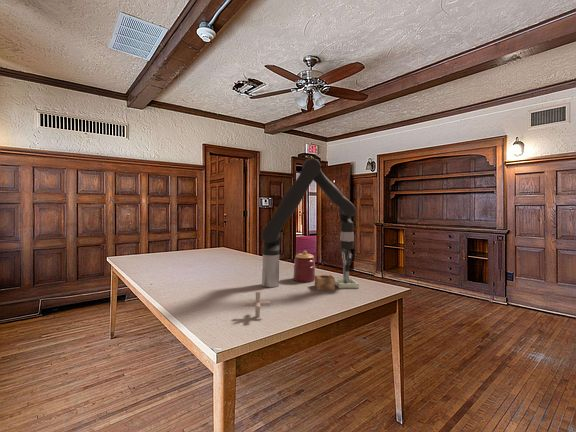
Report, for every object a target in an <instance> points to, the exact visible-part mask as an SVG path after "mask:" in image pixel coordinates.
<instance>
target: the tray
mask: <svg viewBox="0 0 576 432" xmlns="http://www.w3.org/2000/svg"><path fill="white" fill-rule="evenodd" d="M335 287H337V288H338V289H341V290H342V289H343V290H344V289H345V290H347V289H359V287H360V285H359V282H357V281H356V280H354V279H353V278H349V284H344V283H343V278H335Z"/></svg>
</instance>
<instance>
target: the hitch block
mask: <svg viewBox="0 0 576 432" xmlns="http://www.w3.org/2000/svg"><path fill="white" fill-rule="evenodd" d="M335 279H336V278H335V277H334V276H332V275H331V274H315V280H314V287H315V288H316V289H317V290H318V291H335V290H336V285H335Z"/></svg>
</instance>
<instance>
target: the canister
mask: <svg viewBox="0 0 576 432" xmlns="http://www.w3.org/2000/svg"><path fill="white" fill-rule="evenodd" d="M293 261H294V264H293V280H294V281H295V282H300V283H311V282H315V275H316V265H315V263H316V259H315V256H314V255H313V254H311V253H308V251H307V250H303V251H302V253H297V254H296V255H295V258H294V259H293Z"/></svg>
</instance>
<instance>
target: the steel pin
mask: <svg viewBox="0 0 576 432" xmlns="http://www.w3.org/2000/svg"><path fill="white" fill-rule="evenodd" d="M346 259H347V258H346ZM348 262H349V261H348ZM342 267H343V268H342V270H343V271H342V273H343V275H342V279H343V283H344V284H349V279H350V270H349V271H345V260H344V265H343V264H342Z"/></svg>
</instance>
